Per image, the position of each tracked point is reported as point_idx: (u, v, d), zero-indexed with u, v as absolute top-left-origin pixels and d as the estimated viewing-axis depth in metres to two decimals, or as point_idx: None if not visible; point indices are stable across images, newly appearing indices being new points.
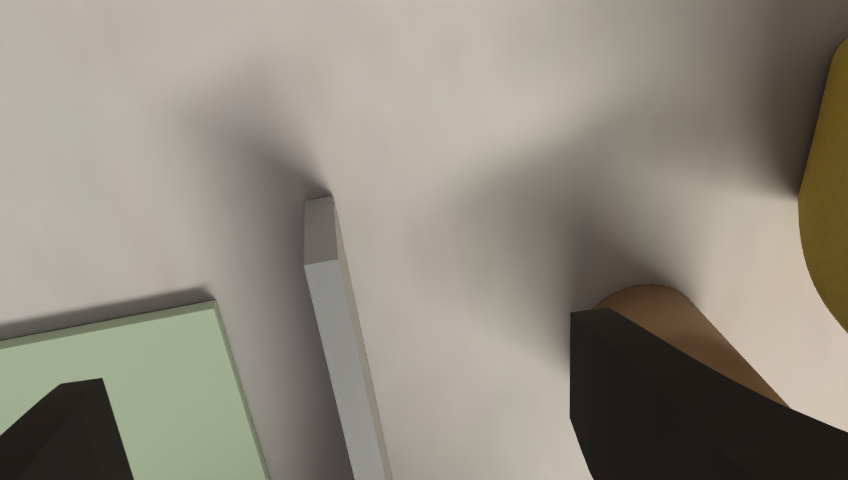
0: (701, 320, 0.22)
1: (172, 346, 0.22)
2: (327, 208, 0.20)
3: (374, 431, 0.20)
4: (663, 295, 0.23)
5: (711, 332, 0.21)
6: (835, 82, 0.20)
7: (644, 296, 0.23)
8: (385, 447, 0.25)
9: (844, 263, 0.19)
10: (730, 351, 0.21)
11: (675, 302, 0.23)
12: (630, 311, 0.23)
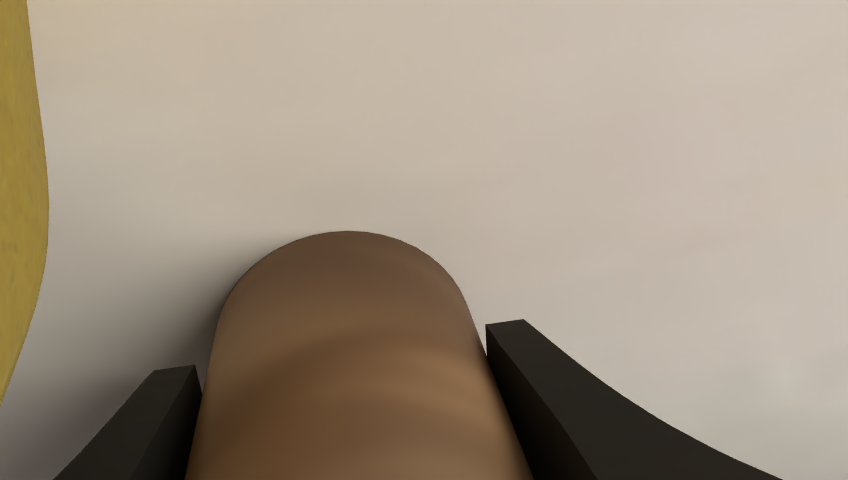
0: (212, 369, 0.11)
1: None
2: None
3: None
4: None
5: (203, 404, 0.10)
6: None
7: None
8: None
9: None
10: (197, 444, 0.09)
11: (209, 362, 0.12)
12: None
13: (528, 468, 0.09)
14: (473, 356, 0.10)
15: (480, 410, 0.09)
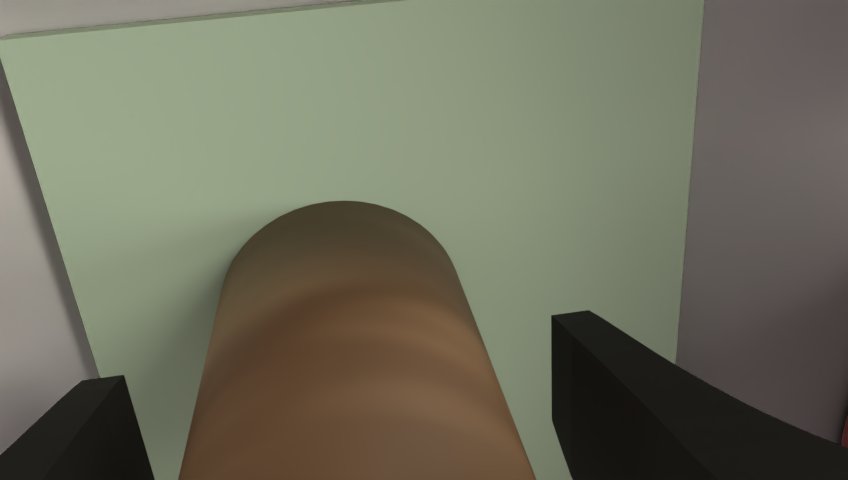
0: (217, 324, 0.11)
1: (86, 126, 0.12)
2: None
3: None
4: None
5: (208, 354, 0.11)
6: None
7: None
8: None
9: None
10: (203, 386, 0.10)
11: None
12: None
13: (507, 408, 0.10)
14: (459, 311, 0.11)
15: (462, 353, 0.10)
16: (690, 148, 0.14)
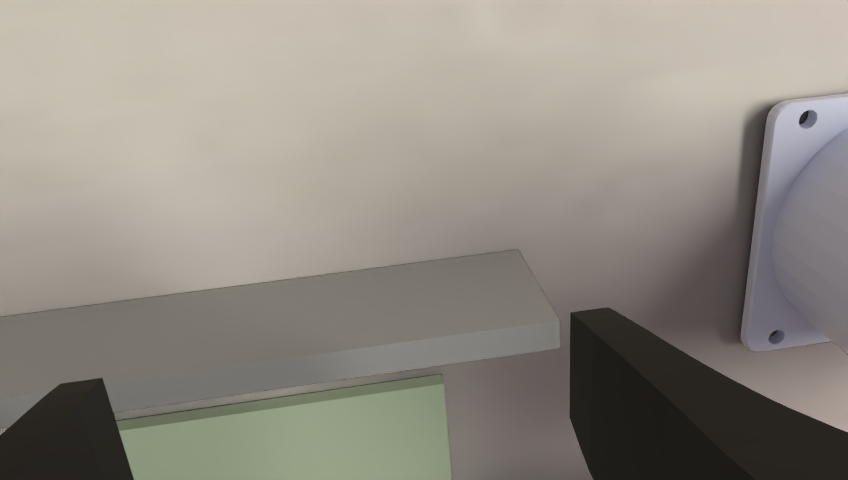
0: None
1: None
2: None
3: None
4: None
5: None
6: None
7: None
8: (268, 284, 0.21)
9: None
10: None
11: None
12: None
13: None
14: None
15: None
16: (449, 460, 0.24)
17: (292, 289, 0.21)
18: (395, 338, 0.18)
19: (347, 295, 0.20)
